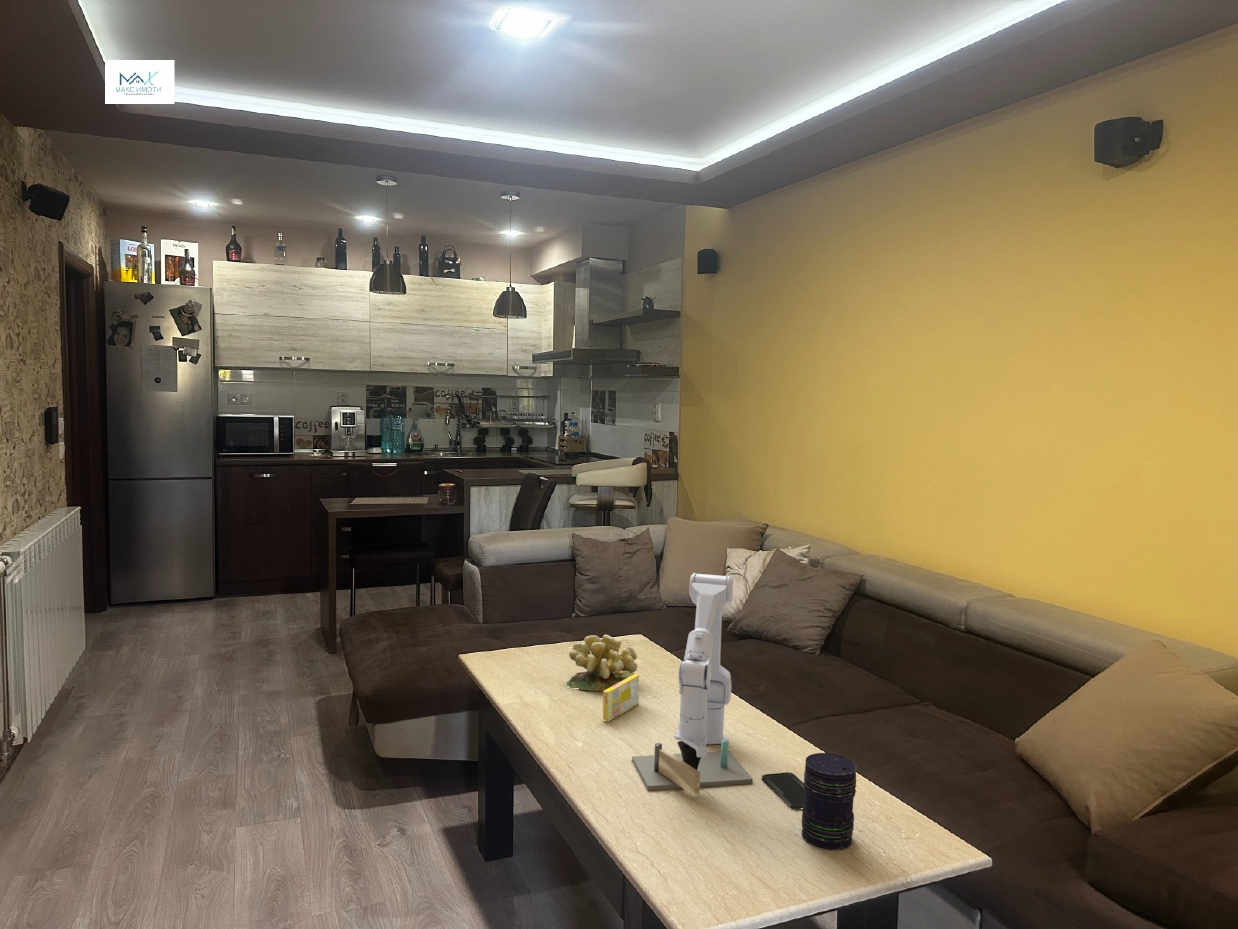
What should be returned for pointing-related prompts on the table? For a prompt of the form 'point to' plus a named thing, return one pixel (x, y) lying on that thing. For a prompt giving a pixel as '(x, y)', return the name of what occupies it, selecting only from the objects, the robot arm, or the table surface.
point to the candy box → (620, 697)
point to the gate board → (707, 767)
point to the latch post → (724, 753)
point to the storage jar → (828, 801)
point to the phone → (787, 788)
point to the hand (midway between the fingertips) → (690, 775)
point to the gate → (679, 772)
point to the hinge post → (657, 756)
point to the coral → (601, 663)
